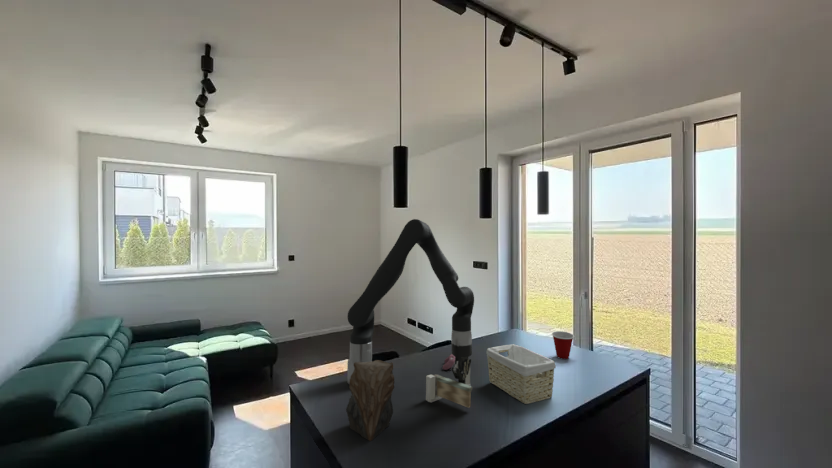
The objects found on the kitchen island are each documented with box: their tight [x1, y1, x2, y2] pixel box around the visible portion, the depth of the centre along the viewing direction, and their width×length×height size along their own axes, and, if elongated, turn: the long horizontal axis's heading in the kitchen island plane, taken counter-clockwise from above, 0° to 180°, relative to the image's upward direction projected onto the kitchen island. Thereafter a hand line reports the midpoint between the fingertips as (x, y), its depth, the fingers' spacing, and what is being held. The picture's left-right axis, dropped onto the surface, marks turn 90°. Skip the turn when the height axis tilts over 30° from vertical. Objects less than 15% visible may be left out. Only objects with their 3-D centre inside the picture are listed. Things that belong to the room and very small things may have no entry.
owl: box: [345, 359, 395, 442], centre depth 110 cm, size 13×13×20 cm
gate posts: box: [425, 367, 472, 403], centre depth 134 cm, size 22×3×9 cm, turn 130°
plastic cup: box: [551, 330, 575, 360], centre depth 177 cm, size 11×11×12 cm
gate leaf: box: [432, 374, 473, 409], centre depth 125 cm, size 16×2×7 cm, turn 48°
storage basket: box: [485, 343, 557, 405], centre depth 137 cm, size 24×16×15 cm
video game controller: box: [442, 353, 455, 371], centre depth 162 cm, size 10×5×7 cm, turn 169°
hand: (461, 388), depth 126 cm, fingers closed
